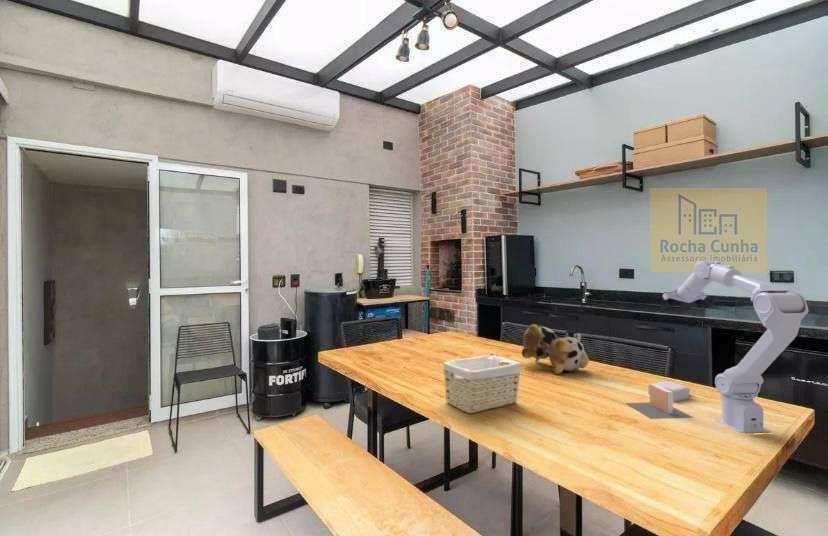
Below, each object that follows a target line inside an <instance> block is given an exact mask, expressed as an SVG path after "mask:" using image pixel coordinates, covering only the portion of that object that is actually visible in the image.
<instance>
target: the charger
mask: <svg viewBox="0 0 828 536" xmlns="http://www.w3.org/2000/svg"><path fill="white" fill-rule="evenodd" d="M650 384H651V383H649V384H648V386H647V387H648V388H647V389H648V395H649V396H650ZM653 384H656V385H658V386H661V387H663V388H665V389H667V390H669V391H672V392H673V403H675V402H680V401H683V400H687V399H689V398H690V391H691V389H690V387H688V386H686V385H683V384H678V383H676V382H675V383H674V382H671V381H667V380H665V381H660V382H654V383H653Z"/></svg>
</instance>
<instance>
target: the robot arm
mask: <svg viewBox="0 0 828 536" xmlns="http://www.w3.org/2000/svg"><path fill="white" fill-rule="evenodd" d="M712 282H715V283H717V284H721V285H723V286H725V287H729V288H732V287H737V288H740V289H742V290H744V291H746V292H749V293H750V294H751V297H750V301H751V302H752V303H753V305H752V306H753V309H754V311H755V312H756V314H757V316H758V317H757V318H759V320H760V322H761V324H762V326H763V327H764V328H766V330H765V332H764V333H763V334H762V335H761V336H760V338H759V339H758V340H757V341H756V343H754V344H753V346H752V347H751V348H750V349H749V351H748V352H747V353H746V354H745V356H743V358H742V359H741V360H740V361H739V363H737V365H735V366H732V367H730V368H727V369H725V370H724V372H722V373H718V374H717V375H716V376H715V378H714V385H715V388H716V390H717V392H719V394H720V395H721V418H714V421H716V422H718V423H720V424H722V425H725V426H726V427H729V428H731V429H732V430H734V431H737V432H738V433H761V432H767V429H764V409H763V407H762V405H760V404H759V403H758V402H755V400H754V399H756V395H758V394H759V393H760V391H761V387H762V385H763V383H764V378H763V376H762V374H763V373H764V372H765V371H766V370H767V369H768V368H769V367H770V366H771V364H772V363H773V362H774V361H776V359H777V358H778V357H779V356H780V355H781V354H782V353H783V352H784V351H785V350H786V348H787V347H788V346H789V345H790V344H791V343H792V342H793V341H794V340H795V338H796V337H797V336H798V333H799V330H800V326H801V323H802V320H803V319H804V317H805V316H806V315H807V314H808V313H809V307H808V303H807V300H806V298H805V297H804V295H802V294H801V293H799V292H796V291H792V290H791V289H789V288H787V287H783V286H779V285H776V284H771V283H768V282H766V281H761V280H758V279H755V278H752V277H749V276H746V275H742V273H741V271H740V270H739V269H736V268H735V266H734V265H725V264H722V262H720V261H719V260H699V261H696V262H695V263H694V266H693V272H692V273H691V274H690V275H689V277H687V279H686V280H685V281H684V282H683V283H682V284H681V285H678V286H677V287H676V289H673V290H670V291H664V292H663V293H662V301H661V304H660V307H659V309H660V310H661V312H662V313H663V312H664V313H665V312H667V311H668V310H669V309H670V308H671V307H673V306H676V304H675V300H676V301H679V302H682V303H681V304H680V306H679V308H680V310H681V312H683V313H684V312H686V311H688V310H690V309H692V308H694V307H697V306H701V305H702V304H703V301H704V300H705V299H706V298H707V295H706V293H705V292H703V290H705V289H706V287H707V286H709V284H710V283H712ZM790 291H791V292H790Z"/></svg>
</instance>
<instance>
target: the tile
mask: <svg viewBox="0 0 828 536" xmlns="http://www.w3.org/2000/svg"><path fill="white" fill-rule="evenodd" d="M649 384H650V395H649V402H650V404H651V405H653V406H655V407H656V408H658V409H660V410H662V411H664V412H666V413H668V414H673V407H674V406H673V405H674V402H673V392H672V391H669V390H667V389H665V388H663V387H661V386H658V385H656V384H654V383H649Z"/></svg>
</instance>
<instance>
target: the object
mask: <svg viewBox="0 0 828 536" xmlns="http://www.w3.org/2000/svg"><path fill="white" fill-rule="evenodd" d="M498 356H499V355H498ZM498 356H495V354H494V355H492V356H490V355H480V356H474V357H467V358H458V359H452V360H447V361H444V362H443V367H442V368H443V375H444V377H443V378H444V391H445V400H446V403H448V404H450V405H451V406H453V407H454V408H457V409H459V410H461V411H463V412H466V413H468V414H473V413H475V414H476V413H478V412H482V411H487V410H490V409H494V408H495V409H496V408H501V407H503V406H504V407H505V406H508V405H511V404H515V403H517V401H518V392H519V385H520V384H519V383H520V382H519V381H520V375H521V371H522V369H521V368H522V367H521V366H522V364H521V362H519V361H516V360H512V359H509V358H506V357H501V356H499V357H498Z"/></svg>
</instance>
